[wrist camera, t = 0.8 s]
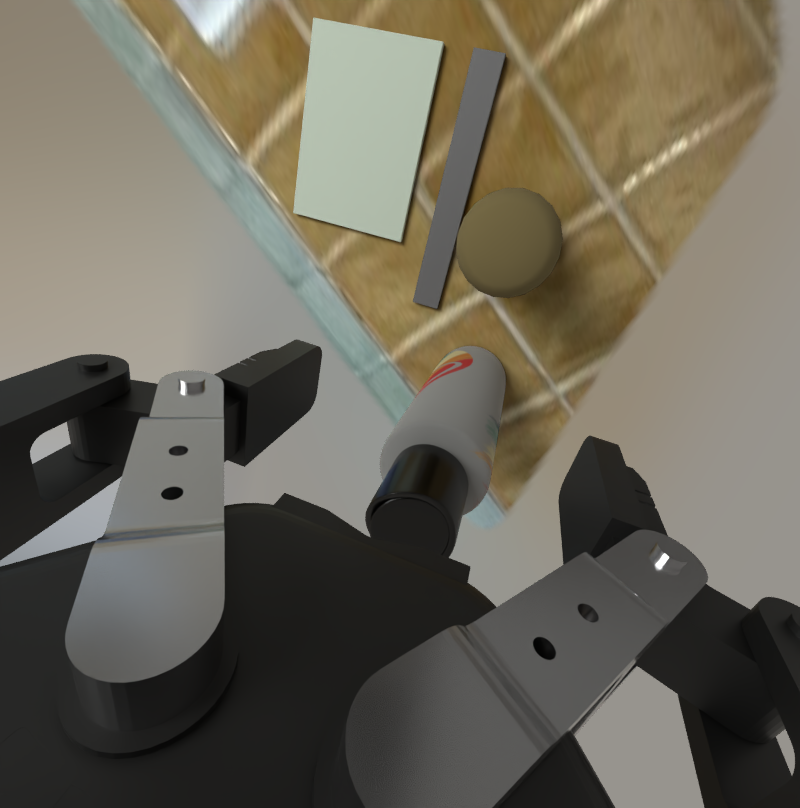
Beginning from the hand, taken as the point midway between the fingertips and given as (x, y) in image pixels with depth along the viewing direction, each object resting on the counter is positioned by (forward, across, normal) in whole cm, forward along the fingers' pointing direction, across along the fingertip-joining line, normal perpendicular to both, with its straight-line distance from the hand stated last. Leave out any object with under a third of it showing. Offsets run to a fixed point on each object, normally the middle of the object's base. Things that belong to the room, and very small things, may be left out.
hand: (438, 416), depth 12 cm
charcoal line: (+22, +5, -6) cm, 23 cm away
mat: (+22, +13, -8) cm, 26 cm away
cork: (+22, 0, -4) cm, 22 cm away
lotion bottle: (+22, 0, +7) cm, 23 cm away
